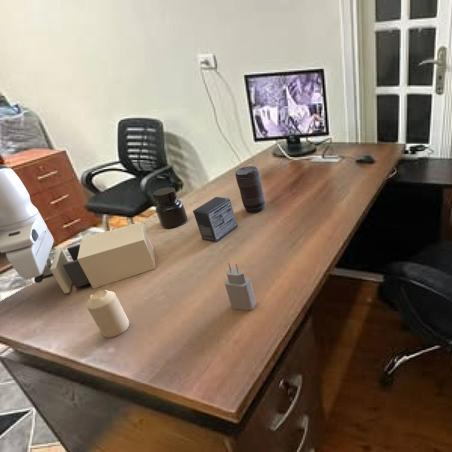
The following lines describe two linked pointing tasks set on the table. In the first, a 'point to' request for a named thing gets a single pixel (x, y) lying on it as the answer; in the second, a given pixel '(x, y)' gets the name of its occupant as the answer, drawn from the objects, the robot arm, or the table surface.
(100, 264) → the cabinet
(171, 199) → the ink bottle
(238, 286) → the power adapter
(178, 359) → the table surface
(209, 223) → the small box
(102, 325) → the candle
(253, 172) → the camera lens
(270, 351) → the table surface
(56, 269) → the drawer
